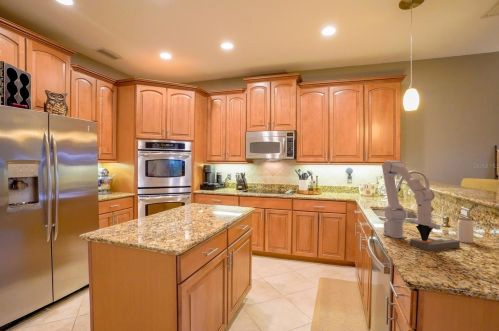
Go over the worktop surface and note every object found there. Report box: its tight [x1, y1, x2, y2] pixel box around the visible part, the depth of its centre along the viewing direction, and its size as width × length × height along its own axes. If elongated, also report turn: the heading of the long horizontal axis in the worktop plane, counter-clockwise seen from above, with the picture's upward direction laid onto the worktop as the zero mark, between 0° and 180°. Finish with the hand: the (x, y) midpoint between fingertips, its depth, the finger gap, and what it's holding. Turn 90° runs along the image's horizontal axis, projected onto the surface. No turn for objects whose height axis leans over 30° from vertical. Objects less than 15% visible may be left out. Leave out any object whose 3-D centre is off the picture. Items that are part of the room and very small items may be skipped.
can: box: [456, 217, 474, 244], centre depth 132 cm, size 6×6×12 cm
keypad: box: [409, 235, 461, 252], centre depth 125 cm, size 10×20×3 cm, turn 105°
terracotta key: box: [417, 239, 432, 243], centre depth 123 cm, size 4×4×2 cm
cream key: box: [428, 236, 442, 242], centre depth 125 cm, size 4×4×2 cm
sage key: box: [440, 236, 452, 241], centre depth 126 cm, size 4×4×2 cm
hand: (424, 240), depth 123 cm, fingers closed, pressing on terracotta key
